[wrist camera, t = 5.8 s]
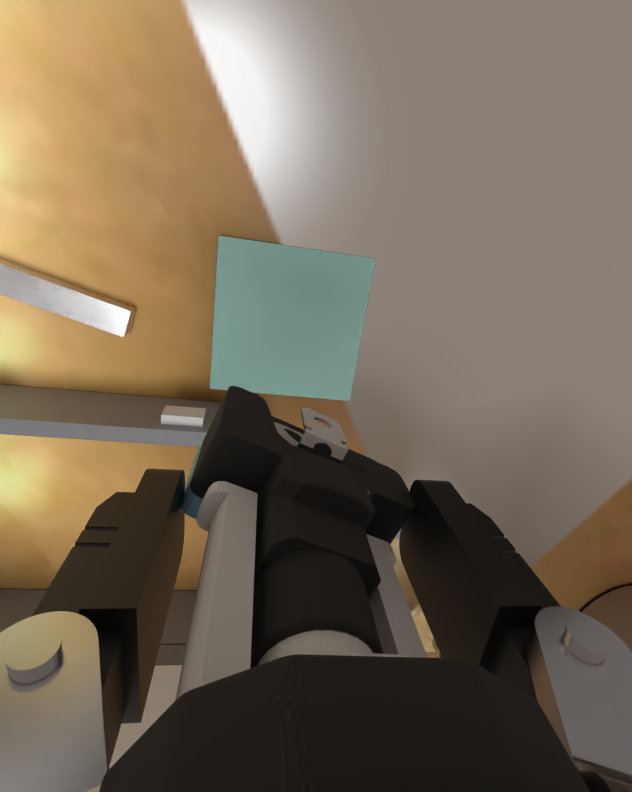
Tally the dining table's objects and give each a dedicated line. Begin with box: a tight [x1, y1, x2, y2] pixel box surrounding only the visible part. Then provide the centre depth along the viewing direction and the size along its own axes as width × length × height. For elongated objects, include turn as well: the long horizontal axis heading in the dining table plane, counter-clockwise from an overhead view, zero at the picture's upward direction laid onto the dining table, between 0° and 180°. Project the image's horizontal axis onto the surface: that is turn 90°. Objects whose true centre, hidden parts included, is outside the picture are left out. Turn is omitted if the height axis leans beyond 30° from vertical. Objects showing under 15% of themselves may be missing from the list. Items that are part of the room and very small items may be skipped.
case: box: [0, 384, 222, 768], centre depth 18 cm, size 19×16×17 cm
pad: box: [210, 236, 376, 401], centre depth 23 cm, size 8×8×1 cm
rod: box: [0, 258, 136, 337], centre depth 21 cm, size 10×1×1 cm, turn 67°
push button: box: [99, 386, 590, 792], centre depth 7 cm, size 7×5×10 cm
